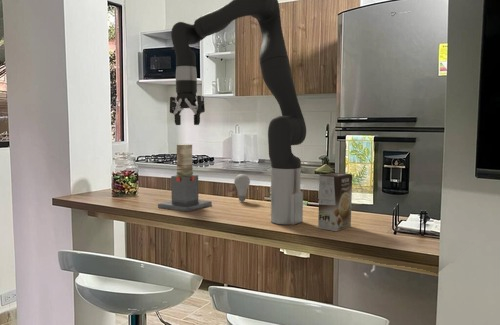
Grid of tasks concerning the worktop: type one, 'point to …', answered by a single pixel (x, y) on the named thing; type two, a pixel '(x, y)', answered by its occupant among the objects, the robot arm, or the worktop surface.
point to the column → (184, 160)
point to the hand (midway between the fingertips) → (187, 125)
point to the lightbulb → (242, 185)
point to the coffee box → (335, 201)
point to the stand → (184, 195)
